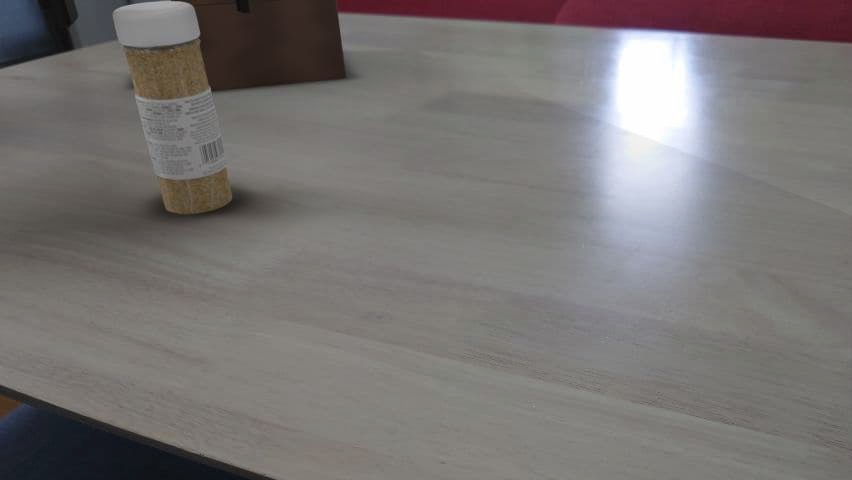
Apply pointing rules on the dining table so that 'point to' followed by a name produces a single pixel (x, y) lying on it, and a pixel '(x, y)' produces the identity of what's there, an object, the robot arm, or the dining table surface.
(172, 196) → the seasoning bottle
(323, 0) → the cabinet
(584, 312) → the dining table surface
